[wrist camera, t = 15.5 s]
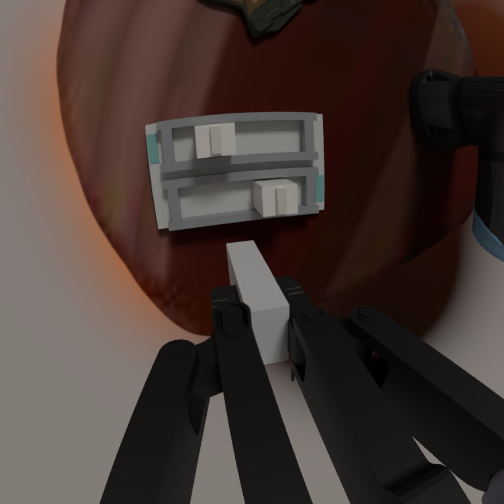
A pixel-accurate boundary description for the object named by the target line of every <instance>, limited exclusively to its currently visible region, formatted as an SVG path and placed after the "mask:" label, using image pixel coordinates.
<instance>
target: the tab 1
mask: <svg viewBox="0 0 504 504" xmlns="http://www.w3.org/2000/svg"><path fill="white" fill-rule="evenodd" d="M194 130H195V142H196V154H197V159H198V158H207V157H216V156H227V155H237V152H236V138H235V123H234V122H233V123H219V124H208V125H199V126H195V127H194Z"/></svg>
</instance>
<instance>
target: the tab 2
mask: <svg viewBox="0 0 504 504" xmlns="http://www.w3.org/2000/svg"><path fill="white" fill-rule="evenodd" d="M252 187H253V204H254V208H255V209H256V210H257V211H258V212H259V213H260V214H261V215H262V216H263V217H269V216H278V215H287V214H297V213H298V192H297V183H294V182H292V181H290V180H287V179H285V178H273V179H260V180H252Z"/></svg>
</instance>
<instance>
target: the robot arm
mask: <svg viewBox="0 0 504 504" xmlns="http://www.w3.org/2000/svg"><path fill="white" fill-rule="evenodd" d="M410 108H411V113H412V117H413V121H414V123H415V126H416V128H417V130H418V132H419V134H420V135H421V137H422V138H423V140H424V141H425V142H426V143H427V144H428V145H430V146H431V147H433V148H435V149H439V150H445V151H451V150H455V149H459V148H463V147H467V146H471V145H473V146H478V172H477V186H476V196H475V203H474V205H473V211H474V215H473V224H472V230H473V234H474V236H475V238H476V239H477V241H478V243H479V244H480V245H481V246H482V247H483V248H484V249H485V250H486V251H488V252H489V253H490V254H491V255H493V256H495V257H496V258H498V259H500V260H501V261H504V76H469V77H461V76H458V75H455V74H452V73H449V72H445V71H442V70H437V69H431V70H424V71H421V72H419V73H418V74H417V75H416V76H415V78H414V80H413V82H412V85H411V89H410ZM226 246H227V256H228V265H229V275H230V284H231V286H223V287H216V288H214V289H213V291H212V292H211V294H210V295H211V304H212V313H211V316H212V322H213V327H214V332H213V334H212V336H211V337H210V338H209V339H207V340H206V341H204V342H202V343H199V344H197V345H194V344H193V343H192V342H190V341H188V340H183V339H181V340H173V341H170V342H168V343H166V344H165V345H163V346H162V348H161V349H160V350H159V352H158V355H157V357H156V359H155V362H154V364H153V366H152V369H151V371H150V373H149V375H148V378H147V380H146V382H145V385H144V387H143V390H142V392H141V394H140V397H139V400H138V402H137V404H136V407H135V409H134V412H133V414H132V417H131V419H130V422H129V424H128V427H127V429H126V432H125V435H124V437H123V439H122V442H121V445H120V447H119V450H118V453H117V455H116V458H115V461H114V464H113V466H112V469H111V472H110V475H109V478H108V481H107V483H106V486H105V489H104V492H103V495H102V498H101V501H100V504H190V501H191V495H192V490H193V484H194V479H195V473H196V468H197V463H198V457H199V452H200V446H201V442H202V437H203V431H204V426H205V421H206V416H207V411H208V405H209V401H210V398H209V397H212V396H214V395H217V394H219V393H222V392H223V394H224V399H225V405H226V411H227V417H228V423H229V428H230V434H231V439H232V444H233V449H234V454H235V459H236V464H237V469H238V474H239V478H240V483H241V488H242V492H243V496H244V501H245V504H313V503H312V501H311V498H310V495H309V492H308V490H307V487H306V484H305V482H304V479H303V476H302V473H301V471H300V468H299V465H298V462H297V460H296V457H295V454H294V451H293V448H292V445H291V443H290V440H289V437H288V434H287V432H286V428H285V425H284V423H283V420H282V417H281V414H280V411H279V408H278V405H277V402H276V399H275V396H274V393H273V390H272V387H271V384H270V381H269V378H268V375H267V372H266V369H265V366H264V365H265V364H270V363H275V362H280V361H285V360H288V351H289V353H290V355H291V357H292V367H291V381H294V375H295V377H296V379H297V382H298V384H299V386H300V388H301V390H302V393H303V396H304V398H305V400H306V402H307V405H308V407H309V410H310V412H311V414H312V417H313V418H314V421H315V424H316V426H317V428H318V430H319V433H320V435H321V437H322V440H323V442H324V444H325V447H326V449H327V451H328V454H329V456H330V458H331V460H332V463H333V465H334V467H335V470H336V472H337V474H338V476H339V479H340V481H341V483H342V486H343V488H344V490H345V492H346V495H347V497H348V499H349V501H350V504H471V503H470V501H469V499H468V498H467V496H466V494H465V493H464V491H463V490H462V488H461V486H460V485H459V483H458V482H457V480H456V479H455V477H454V475H453V474H452V473H451V471H452V472H453V473H454V474H455V475H456V476H457V477H458V478H460V479H461V480H462V481H464V482H465V483H466V484H468V485H470V486H472V487H474V488H476V489H478V490H481V491H484V492H485V493H484V495H483V496H482V503H483V504H504V399H503V398H502V397H500V396H499V395H498V394H496V393H495V392H493V391H492V390H491V389H490V388H488V387H487V386H485V385H484V384H483V383H481V382H480V381H479V380H477V379H476V378H475V377H473V376H472V375H470V374H469V373H468V372H466V371H465V370H463V369H462V368H460V367H459V366H458V365H456V364H455V363H454V362H452V361H451V360H449V359H448V358H447V357H445V356H444V355H442V354H441V353H439V352H438V351H437V350H435V349H434V348H432V347H431V346H430V345H428V344H427V343H425V342H424V341H422V340H421V339H420V338H418V337H417V336H415V335H414V334H412V333H411V332H410V331H408V330H407V329H405V328H404V327H402V326H401V325H399V324H398V323H396V322H395V321H393V320H392V319H390V318H389V317H388V316H386V315H385V314H383V313H382V312H380V311H379V310H377V309H375V308H373V307H369V306H359V307H356V308H354V309H352V310H351V312H350V314H349V317H346V318H345V317H342V318H336V317H330V316H329V314H328V313H327V312H326V311H325V310H323V309H321V308H318V307H314V305H313V304H312V303H311V301H310V300H309V298H308V297H307V295H306V294H305V292H304V291H303V289H302V288H301V287H300V285H299V284H298V282H297V281H296V280H295V279H293V278H291V277H289V276H286V277H280V278H274V277H273V275H272V273H271V271H270V270H269V268H268V266H267V264H266V262H265V261H264V259H263V257H262V255H261V254H260V252H259V250H258V248H257V246H256V245H255V243H254V241H253V240H252V241H244V242H236V243H229V244H226ZM374 352H376V353H377V354H379V355H380V357H379V358H378V357H376V356H375V355H374ZM411 435H412V436H413V437H414V438H415V439H416V440H417V441H419V443H420V444H422V445H423V446H424V447H425V448H426V449H427V450H428V451H429V452H430V453H432V454H433V455H434V456H435V457H436V458H437V459H438V460H439V461H440V462H442V463H443V464H444V465H445V466H446V467H445V466H443V465H441V464H432V463H430V462H429V461H428V460H427V459H426V457H425V456H424V454H423V453H422V451H421V449H420V448H419V446H418V445H417V443H416V442H415V441H414V439H413V437H412V436H411ZM450 470H451V471H450Z"/></svg>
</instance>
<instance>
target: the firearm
mask: <svg viewBox="0 0 504 504" xmlns="http://www.w3.org/2000/svg"><path fill="white" fill-rule="evenodd" d="M208 1H210V2H212V3H216V4H220V5H224V6H228V7H232V8H236V9H239V10H241V12H242V14H243V16H244V18H245V20H246V22H247V23H246V24H247V28H248V30H249V32H250V34H251V36H252V37H254V38H258V37H260V36H261V35H262V34H263V33H271V32H277V31H278V30H279V29H280V28H281V27H282V26H283V25H284V24H285V23H286V22H287V21H288V20H289V19H290V18H291V17H292V16H293V15H294V14H295V13H296V12H297V11H298V10H299V9H300V8H301V7H302V2H303V1H304V0H208Z"/></svg>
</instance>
